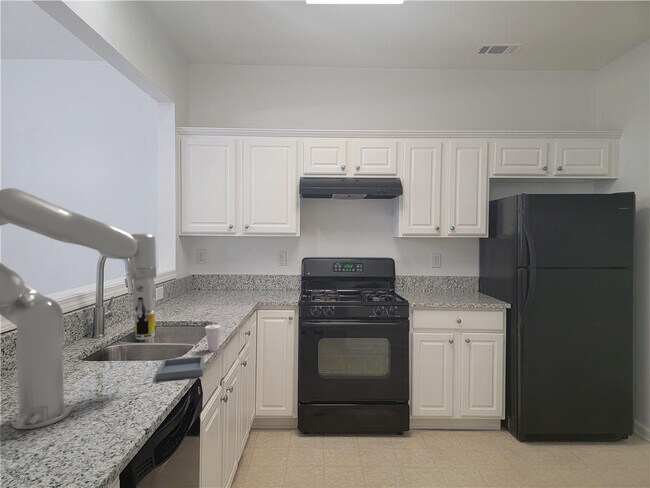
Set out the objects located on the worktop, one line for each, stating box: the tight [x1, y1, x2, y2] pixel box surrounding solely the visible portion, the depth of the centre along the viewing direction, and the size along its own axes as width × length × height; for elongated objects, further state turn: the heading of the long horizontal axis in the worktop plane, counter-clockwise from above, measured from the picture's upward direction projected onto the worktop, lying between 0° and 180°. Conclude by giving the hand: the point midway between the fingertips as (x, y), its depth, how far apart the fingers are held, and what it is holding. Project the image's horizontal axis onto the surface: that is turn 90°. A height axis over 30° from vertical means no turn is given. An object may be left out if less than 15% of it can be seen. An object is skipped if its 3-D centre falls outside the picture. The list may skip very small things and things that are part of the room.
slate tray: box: [156, 355, 205, 382], centre depth 133 cm, size 14×14×2 cm
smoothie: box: [204, 315, 222, 352], centre depth 156 cm, size 6×6×14 cm
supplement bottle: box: [133, 309, 156, 341], centre depth 119 cm, size 6×6×10 cm
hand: (144, 331), depth 119 cm, fingers closed on supplement bottle, 5 cm apart
